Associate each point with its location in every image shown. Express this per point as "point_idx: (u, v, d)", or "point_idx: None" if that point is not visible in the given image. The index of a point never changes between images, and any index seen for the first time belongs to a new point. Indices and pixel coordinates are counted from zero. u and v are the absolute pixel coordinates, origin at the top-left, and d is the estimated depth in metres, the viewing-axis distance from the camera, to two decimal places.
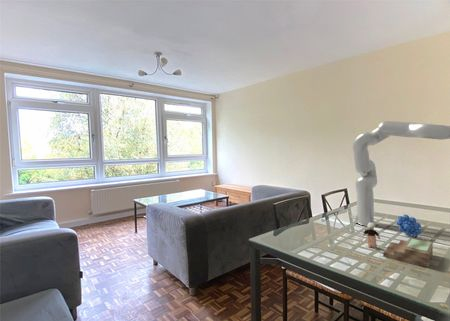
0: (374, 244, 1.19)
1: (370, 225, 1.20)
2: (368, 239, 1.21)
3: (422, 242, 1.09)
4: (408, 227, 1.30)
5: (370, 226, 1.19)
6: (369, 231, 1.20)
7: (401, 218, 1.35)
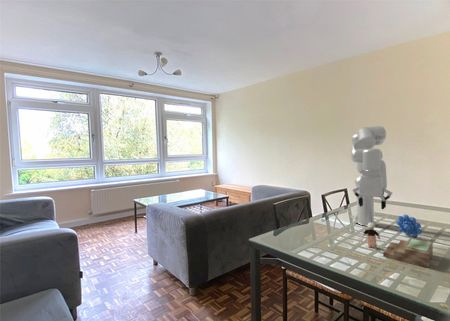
0: (374, 244, 1.19)
1: (370, 225, 1.20)
2: (368, 239, 1.21)
3: (422, 242, 1.09)
4: (408, 227, 1.30)
5: (370, 226, 1.19)
6: (369, 231, 1.20)
7: (401, 218, 1.35)
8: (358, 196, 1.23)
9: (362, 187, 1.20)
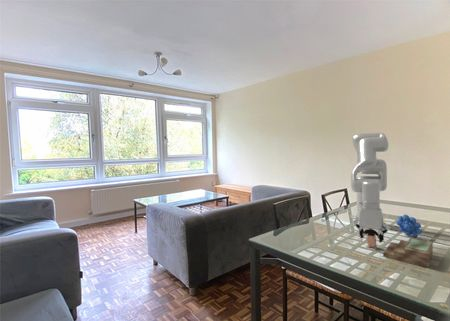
0: (374, 244, 1.19)
1: None
2: (368, 239, 1.21)
3: (422, 242, 1.09)
4: (408, 227, 1.30)
5: None
6: (369, 231, 1.20)
7: (401, 218, 1.35)
8: (359, 228, 1.23)
9: (361, 218, 1.21)
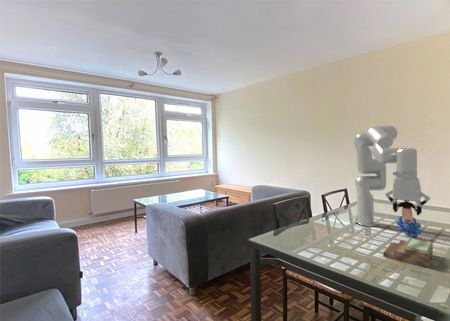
0: (410, 218, 1.08)
1: None
2: (403, 212, 1.10)
3: (422, 242, 1.09)
4: (408, 227, 1.30)
5: None
6: (404, 203, 1.09)
7: (401, 218, 1.35)
8: (392, 201, 1.12)
9: (396, 190, 1.10)
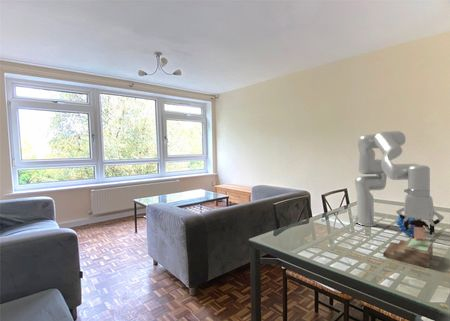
0: (422, 237, 1.05)
1: None
2: (415, 231, 1.07)
3: (422, 242, 1.09)
4: None
5: None
6: (416, 222, 1.06)
7: (401, 218, 1.35)
8: (404, 219, 1.09)
9: (408, 208, 1.07)
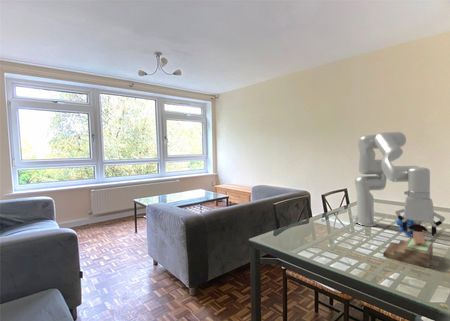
0: (422, 241, 1.06)
1: None
2: (414, 235, 1.08)
3: None
4: None
5: (417, 221, 1.06)
6: (416, 226, 1.07)
7: None
8: (402, 219, 1.10)
9: (408, 210, 1.07)
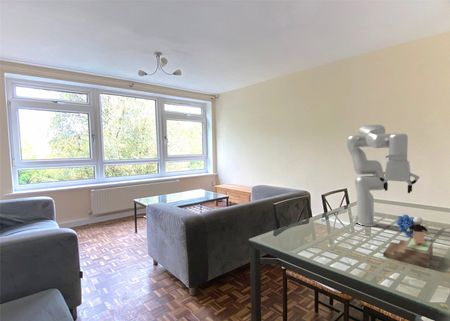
0: (422, 241, 1.06)
1: (417, 219, 1.06)
2: (414, 235, 1.08)
3: None
4: None
5: (417, 221, 1.06)
6: (416, 226, 1.07)
7: (401, 218, 1.35)
8: (383, 181, 1.24)
9: (388, 171, 1.21)
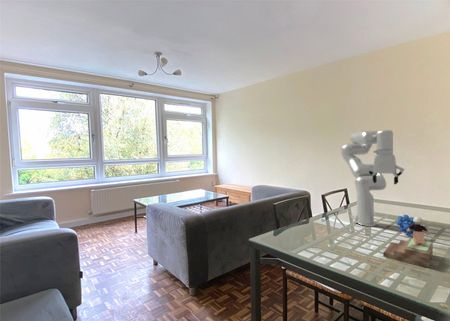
0: (422, 241, 1.06)
1: (417, 219, 1.06)
2: (414, 235, 1.08)
3: None
4: None
5: (417, 221, 1.06)
6: (416, 226, 1.07)
7: (401, 218, 1.35)
8: (372, 174, 1.35)
9: (376, 165, 1.32)
